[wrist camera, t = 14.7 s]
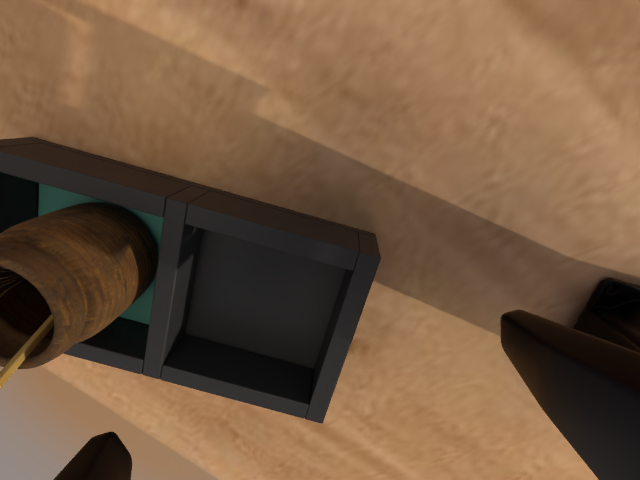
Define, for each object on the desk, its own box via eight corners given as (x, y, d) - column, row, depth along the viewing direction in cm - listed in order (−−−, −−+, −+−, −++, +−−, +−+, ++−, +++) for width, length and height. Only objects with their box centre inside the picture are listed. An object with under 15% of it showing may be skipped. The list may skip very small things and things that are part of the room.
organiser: (375, 233, 20) (381, 257, 17) (326, 379, 24) (322, 424, 20) (31, 136, 20) (-34, 141, 16) (29, 298, 23) (-25, 330, 20)
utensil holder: (144, 191, 20) (-137, 298, 8) (175, 298, 21) (-17, 506, 10) (42, 205, 20) (-350, 322, 9) (81, 308, 22) (-199, 513, 11)
